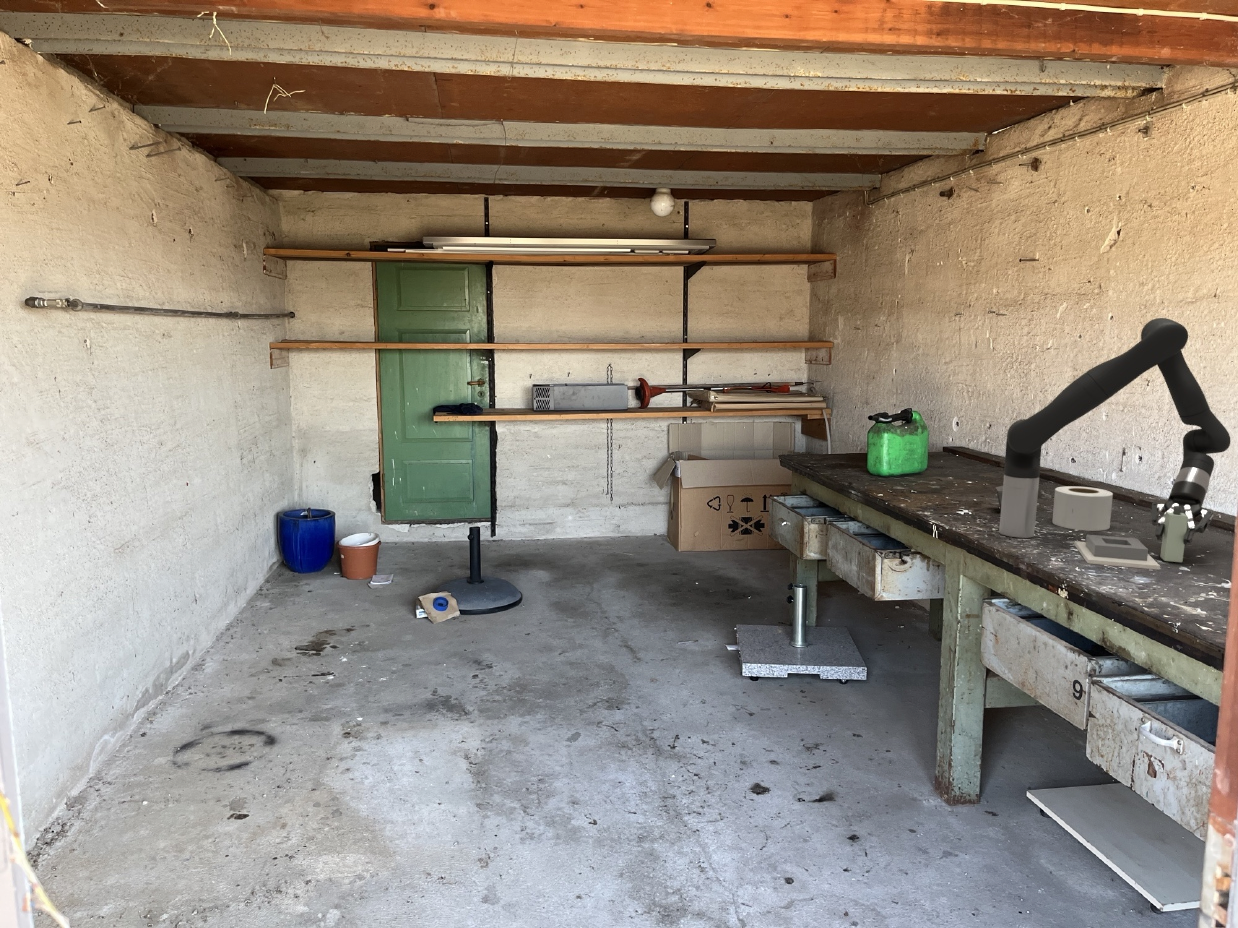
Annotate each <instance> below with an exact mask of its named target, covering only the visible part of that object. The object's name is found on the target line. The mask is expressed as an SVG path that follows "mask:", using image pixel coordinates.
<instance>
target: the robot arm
mask: <svg viewBox="0 0 1238 928" xmlns="http://www.w3.org/2000/svg"><path fill="white" fill-rule="evenodd" d="M1188 340H1189V331H1188V330H1187V328H1186V327H1185V326H1184V325H1183V324H1181V323H1179V322H1177V321H1174V320H1173V319H1170V318H1165V317H1158V318H1157V317H1156V318H1154V319H1151V320H1149V321H1147V323H1145V325H1143V327H1142V329H1141V333H1140V341H1139V342H1137V343H1136V344H1135V345H1134V346H1132V347H1131V348H1130V349H1128V350H1127V351H1125V352H1124V353H1122V354H1120V355H1118V356H1115V357H1113V358H1110V359H1109V360H1106V361H1103V362H1101V363H1099V364H1098V365H1096V366H1094V367H1092V368H1090V369H1088V370H1087V371H1085V372H1084V373H1083V374H1081V375H1080V376H1078V377H1077V378H1076V379H1075V380H1073V381H1072V382H1071V383H1070V384H1069V385H1067V386H1066V387H1065V388H1064V389H1063V390H1061V392H1060V393H1058V395H1056V396H1055V397H1054V398H1053V400H1052V401H1051V402H1050V403H1048V404H1047V405H1046V406H1045V407H1043V408H1042V409H1040V410H1039V411H1038V412H1035V414H1032V415H1030V416H1029V417H1028V418H1026V419H1025V418H1023V419H1019V420H1016V421H1014V422H1013V423H1011V425H1010V426H1009V427H1008V430H1007V433H1006V442H1005V443H1006V444H1005V457H1004V467H1003V468H1004V471H1003V485H1002V486H1003V493H1002V505H1001V509H1000V519H999V528H998V529H999V530H998V533H999V534H1001V535H1002V536H1006V537H1012V538H1023V539H1025V538H1026V539H1027V538H1033V537H1035V531H1036V530H1035V528H1036V527H1035V526H1036V518H1037V507H1038V506H1037V505H1038V495H1039V487H1040V486H1039V485H1040V484H1039V483H1040V473H1041V456H1042V446H1043V445H1044V444H1046V442H1048V441H1049V440H1050V439H1051V438H1052V437H1054V436H1055V435H1056V434H1057V433H1059V432H1060V431H1061V430H1062V429H1063V428H1065V427H1066V426H1068V425H1070V424H1071V423H1073V422H1075V421H1076V420H1078V419H1080V418H1082V417H1084V416H1085V415H1087V414H1089V413H1090V412H1091V411H1093V410H1094V409H1096V408H1098V407H1099V406H1100V405H1102V404H1103V403H1105V402H1106V401H1108V400H1109V399H1111V398H1112V397H1113V396H1115V394H1117V393H1119V391H1121V390H1123V389H1124V388H1126V387H1127V386H1129V384H1131V383H1132V382H1133V381H1135V380H1136V379H1137V378H1139V376H1142V375H1143V374H1144V373H1145V372H1147V371H1149V370H1150V369H1152V368H1153V367H1156V366H1157V368H1158V369H1159V371H1160V374H1161V375H1162V377H1163V379H1164V382H1165V384H1166V387H1167V389H1168V391H1169V393H1170V397H1171V399H1172V401H1173V404H1174V407H1175V410H1176V411H1177V413H1178V416H1179V419H1180V420H1181V423H1183V424H1184V425H1188V426H1196V427H1198V428H1196V429H1195V428H1194V429H1190V430H1188V431H1187V432H1186V433H1185V434H1184V435H1183V438H1182V448H1183V449H1182V450H1183V453H1182V455H1183V456H1182V463H1181V465H1180V469H1179V471H1178V473H1177V475H1176V477H1175V480H1174V482H1173V484H1172V485H1173V486H1172V488H1171V491H1170V493H1169V496H1168V499H1167V501H1166V502H1164V503H1158V502H1157V501H1153V502H1152V503H1151V512H1150V513H1151V515H1150V519H1151V521H1150V522H1151V524H1152V526H1155V527H1156V528H1155V530H1154V535H1155V538H1156V539H1157V541H1162V538H1163V531H1164V522H1165V514H1166V512H1173V511H1174V506H1181V513H1184V514H1185V515H1187V516H1188V522H1187V527H1188V528H1187V529H1186V533H1185V536H1184V539H1183V542H1184V544H1185V545H1186V546H1187V545H1188V544H1191V543H1192V541H1193V538H1194V536H1195V535H1194V534H1196V533H1199V534H1203V533H1205V531H1206V530H1207V529H1208V527H1209V525H1210V523H1211V522H1212V521H1213V519H1214V512H1213V510H1212V509H1208V510H1206V509H1203V508H1202V507H1203V504H1204V501H1205V498H1206V495H1207V493H1208V491H1209V486H1210V480H1211V475H1212V473H1213V470H1214V468H1215V460H1214V459H1213V457H1212V456H1210V454H1211V455H1212V454H1218V453H1223V452H1224V453H1225V452H1226V451H1227V450H1228V449H1229V448H1230V446H1231V436H1230V433H1229V431H1228V430H1227V428H1226V427H1225V426H1224V425H1223V423H1221V421H1220V420H1219V418H1217V417H1216V415H1215V413H1213V412H1212V410H1211V408H1210V405H1209V403H1208V401H1207V399H1206V396H1205V393H1204V391H1203V389H1202V387H1201V386H1200V384H1199V382H1198V381H1197V379H1196V378H1195V375H1194V374H1193V373H1192V371H1191V370H1190V368H1189V366H1188V363H1187V362H1186V360H1185V358H1184V357H1185V356H1184V355H1183V351H1182V350H1183V348H1185V346H1186V344H1187V343H1188ZM1163 510H1164V511H1165V512H1164V514H1163V515H1162V517H1161V518H1160V519H1159V514H1160V513H1161V512H1162V511H1163ZM1199 516H1201V517H1202V518H1201V519H1200V521H1199V522H1198V523H1197V525H1196V524H1195V523H1194V519H1196V518H1197V517H1199Z"/></svg>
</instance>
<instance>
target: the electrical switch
mask: <svg viewBox="0 0 1238 928" xmlns="http://www.w3.org/2000/svg"><path fill="white" fill-rule="evenodd" d="M995 492H996V496H997V500H998V505H999V509H1000V510H1001V505H1002V493H1003V485H1000V486H995Z"/></svg>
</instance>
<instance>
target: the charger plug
mask: <svg viewBox="0 0 1238 928" xmlns="http://www.w3.org/2000/svg"><path fill="white" fill-rule="evenodd" d="M1165 513H1166V514H1165ZM1165 513H1164V514H1165V522H1164V531H1163V535H1162V538H1161V541H1162V542H1161V547H1160V548H1161V549H1160V555H1159V557H1160V558H1161V559H1162V560H1163V561H1164V562H1172V563H1173V562H1175V563H1183V560H1184V551H1185V545H1186V544H1184V542H1183V539H1184V536H1185V533H1186V530H1187V527H1188V523H1187V522H1188V516H1187V515H1185V514H1184V513H1181V506H1174V511H1173V512H1166V511H1165Z"/></svg>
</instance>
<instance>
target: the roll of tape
mask: <svg viewBox="0 0 1238 928" xmlns="http://www.w3.org/2000/svg"><path fill="white" fill-rule="evenodd" d="M1113 495H1114V493H1113V492H1111V491H1109V490H1106V489H1102V488H1096V487H1090V486H1074V485H1073V486H1071V485H1070V486H1069V485H1068V486H1059V487H1056V488H1054V496H1053V497H1054V498H1053V499H1054V500H1053V510H1052V513H1053V514H1052V524H1054V525H1056V526H1058V527H1062V528H1064V529H1069V530H1070V529H1071V530H1077V531H1089V532H1091V531H1092V532H1095V531H1096V532H1102V531H1106V530H1109V529H1110V527H1111V518H1112V517H1111V516H1112V507H1113V505H1112V504H1113Z"/></svg>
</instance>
